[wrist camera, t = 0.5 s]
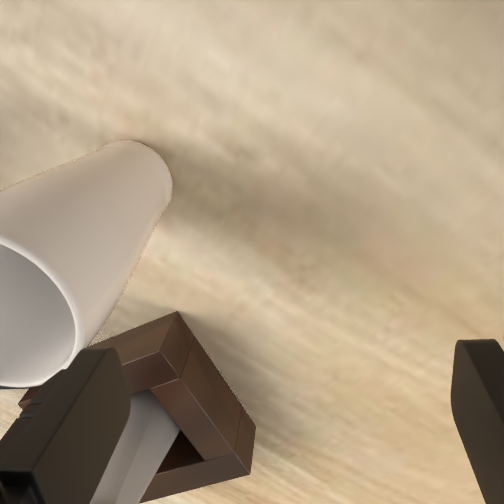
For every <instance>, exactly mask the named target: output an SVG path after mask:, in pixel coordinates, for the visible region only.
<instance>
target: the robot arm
mask: <svg viewBox="0 0 504 504" xmlns="http://www.w3.org/2000/svg"><path fill="white" fill-rule="evenodd" d="M451 407H452V413H453V417H454V421H455V424H456V426H457V429H458V432H459V434H460V437H461V440H462V442H463V445H464V447H465V450H466V453H467V455H468V458H469V461H470V463H471V466H472V469H473V471H474V474H475V476H476V479H477V482H478V484H479V487H480V490H481V492H482V495H483V498H484V500H485V503H486V504H504V351H503V350H502V348H501V346H500V345H499V343H498V342H497V341H496V340H495V339H478V340H458V341H457V343H456V346H455V354H454V365H453V375H452V385H451ZM130 410H131V398H130V393H129V389H128V386H127V382H126V379H125V375H124V372H123V368H122V365H121V361H120V358H119V355H118V352H117V350H116V349H115V348H113V347H105V348H83V349H81V350H80V351H79V352H78V354H77V355H76V357H75V358H74V359H73V361H72V362H71V364H70V365H69V366H68V368H67V369H61V370H60V371H58V372H57V373H56V374H55V375H53V376H52V377H51V378H50V379H48V380H47V381H46V382H44V383H43V384H42V385H41V387H40V388H39V389H38V391H37V392H36V393H35V395H34V396H33V398H32V399H31V400H30V404H27V406H26V407H25V408H24V410H23V411H22V412H21V414H20V417H19V418H17V419H16V420H15V422H14V423H13V424H12V426H11V427H10V428H9V430H8V431H7V432H6V434H5V435H4V436H3V438H2V439H1V440H0V504H90V502H91V500H92V498H93V496H94V494H95V492H96V489H97V487H98V485H99V483H100V481H101V478H102V476H103V474H104V472H105V470H106V468H107V465H108V463H109V461H110V459H111V457H112V454H113V452H114V450H115V448H116V446H117V444H118V441H119V439H120V437H121V435H122V433H123V430H124V428H125V426H126V424H127V422H128V419H129V415H130Z"/></svg>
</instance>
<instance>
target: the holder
mask: <svg viewBox="0 0 504 504" xmlns="http://www.w3.org/2000/svg"><path fill="white" fill-rule="evenodd" d="M105 347H113V348H115V349H116V350H117V352H118V355H119V358H120V361H121V365H122V368H123V372H124V375H125V379H126V382H127V386H128V389H129V393H130V395H132V394H135V393H138V392H141V391H144V390H147V389H149V388H150V390H151V391H152V393H153V394H154V395H155V397H156V398H157V399H158V400H159V402H160V403H161V404H162V406H163V407H164V408H165V410H166V411H167V412H168V413H169V415H170V416H171V417H172V419H173V420H174V421H175V422H176V424H177V425H178V426H179V428H180V431H179V433H178V435H177V437H176V438H175V440H174V442H173V444H172V445H171V447H170V449H169V451H168V452H167V454H166V456H165V458H164V459H163V461H162V463H161V465H160V466H159V468H158V470H157V472H156V474H155V475H154V477H153V479H152V481H151V482H150V484H149V486H148V488H147V489H146V491H145V493H144V495H143V496H142V498H141V500H140V502H139V503H143V502H147V501H151V500H154V499H158V498H162V497H166V496H170V495H173V494H177V493H181V492H185V491H189V490H193V489H196V488H200V487H204V486H208V485H212V484H216V483H219V482H223V481H227V480H231V479H235V478H238V477H242V476H246V475H250V472H251V464H252V455H253V447H254V439H255V431H256V426H255V425H254V423H253V422H252V420H251V419H250V417H249V416H248V414H247V413H246V411H245V410H244V408H243V407H242V405H241V404H240V402H239V401H238V399H237V398H236V396H235V395H234V393H233V392H232V391H231V389H230V388H229V386H228V385H227V383H226V382H225V380H224V379H223V377H222V376H221V374H220V373H219V371H218V370H217V369H216V367H215V366H214V364H213V363H212V361H211V360H210V358H209V357H208V355H207V354H206V352H205V351H204V349H203V348H202V346H201V345H200V344H199V342H198V341H197V339H196V338H195V337H194V335H193V334H192V332H191V331H190V329H189V328H188V326H187V325H186V323H185V322H184V320H183V319H182V317H181V316H180V314H179V313H178V312H177V311H176V312H174V313H171V314H169V315H166V316H164V317H161V318H159V319H156V320H154V321H151V322H149V323H146V324H144V325H141V326H139V327H136V328H134V329H131V330H129V331H126V332H124V333H121V334H119V335H116V336H114V337H112V338H109V339H107V340H104V341H102V342H99V343H97V344H94V345H92V346H89V347H87V348H105ZM40 387H41V385H39V386H33V387H30V388H29V390H28V391H27V392H26V394H25V395H24V396H23V398H22V399H21V400H20V402H19V403H18V405H19V406H20V407H21V408H22V409H23V410H24V408H25V407H26V406H27V404H30V400H31V399H32V398H33V396H34V395H35V393H36V392H37V391H38V389H39V388H40Z"/></svg>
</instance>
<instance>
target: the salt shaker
mask: <svg viewBox="0 0 504 504" xmlns="http://www.w3.org/2000/svg"><path fill="white" fill-rule="evenodd" d="M130 398H131V410H130V415H129V419H128V422H127V424H126V426H125V428H124V430H123V433H122V435H121V437H120V439H119V441H118V444H117V446H116V448H115V450H114V452H113V454H112V457H111V459H110V461H109V463H108V465H107V468H106V470H105V472H104V474H103V476H102V478H101V481H100V483H99V485H98V487H97V489H96V492H95V494H94V496H93V498H92V500H91V502H90V504H139V502H140V500H141V498H142V496H143V495H144V493H145V491H146V489H147V488H148V486H149V484H150V482H151V481H152V479H153V477H154V475H155V474H156V472H157V470H158V468H159V466H160V465H161V463H162V461H163V459H164V458H165V456H166V454H167V452H168V451H169V449H170V447H171V445H172V444H173V442H174V440H175V438H176V437H177V435H178V433H179V431H180V428H179V426H178V425H177V424H176V422H175V421H174V420H173V419H172V417H171V416H170V415H169V413H168V412H167V411H166V410H165V408H164V407H163V406H162V404H161V403H160V402H159V400H158V399H157V398H156V397H155V395H154V394H153V393H152V391H151V390H150V388H149V389H147V390H144V391H141V392H138V393H135V394H132V395H130Z"/></svg>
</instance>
